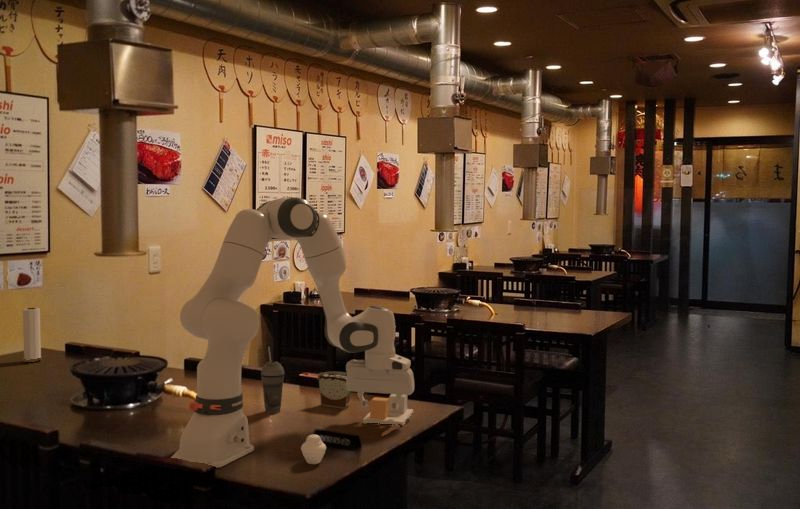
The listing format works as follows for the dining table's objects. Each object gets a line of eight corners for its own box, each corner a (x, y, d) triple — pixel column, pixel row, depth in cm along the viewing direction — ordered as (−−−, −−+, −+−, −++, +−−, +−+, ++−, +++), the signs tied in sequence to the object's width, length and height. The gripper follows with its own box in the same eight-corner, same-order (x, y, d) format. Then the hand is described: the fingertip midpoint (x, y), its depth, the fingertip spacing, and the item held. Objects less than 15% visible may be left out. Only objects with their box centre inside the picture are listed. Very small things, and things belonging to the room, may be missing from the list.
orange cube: (389, 414, 224) (389, 398, 224) (385, 419, 220) (385, 402, 219) (374, 413, 225) (374, 397, 225) (370, 417, 221) (370, 401, 220)
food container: (360, 404, 240) (360, 373, 239) (350, 409, 234) (350, 377, 234) (327, 400, 245) (327, 369, 245) (317, 404, 240) (317, 373, 239)
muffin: (327, 458, 189) (327, 430, 189) (324, 466, 183) (324, 438, 182) (303, 457, 189) (303, 430, 189) (298, 466, 183) (298, 437, 183)
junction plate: (403, 426, 217) (403, 404, 217) (363, 423, 220) (363, 402, 219) (413, 413, 231) (413, 393, 230) (375, 410, 233) (375, 390, 233)
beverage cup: (279, 415, 227) (279, 349, 225) (256, 414, 228) (256, 348, 227) (288, 409, 234) (288, 345, 232) (266, 407, 235) (265, 344, 234)
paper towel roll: (32, 359, 304) (31, 307, 303) (44, 360, 302) (43, 307, 301) (18, 363, 297) (16, 309, 296) (30, 364, 296) (29, 310, 294)
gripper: (342, 361, 221) (342, 407, 221) (411, 365, 216) (411, 412, 217) (349, 357, 227) (348, 402, 228) (415, 360, 222) (415, 406, 223)
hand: (379, 407), depth 222 cm, fingers open, 8 cm apart
